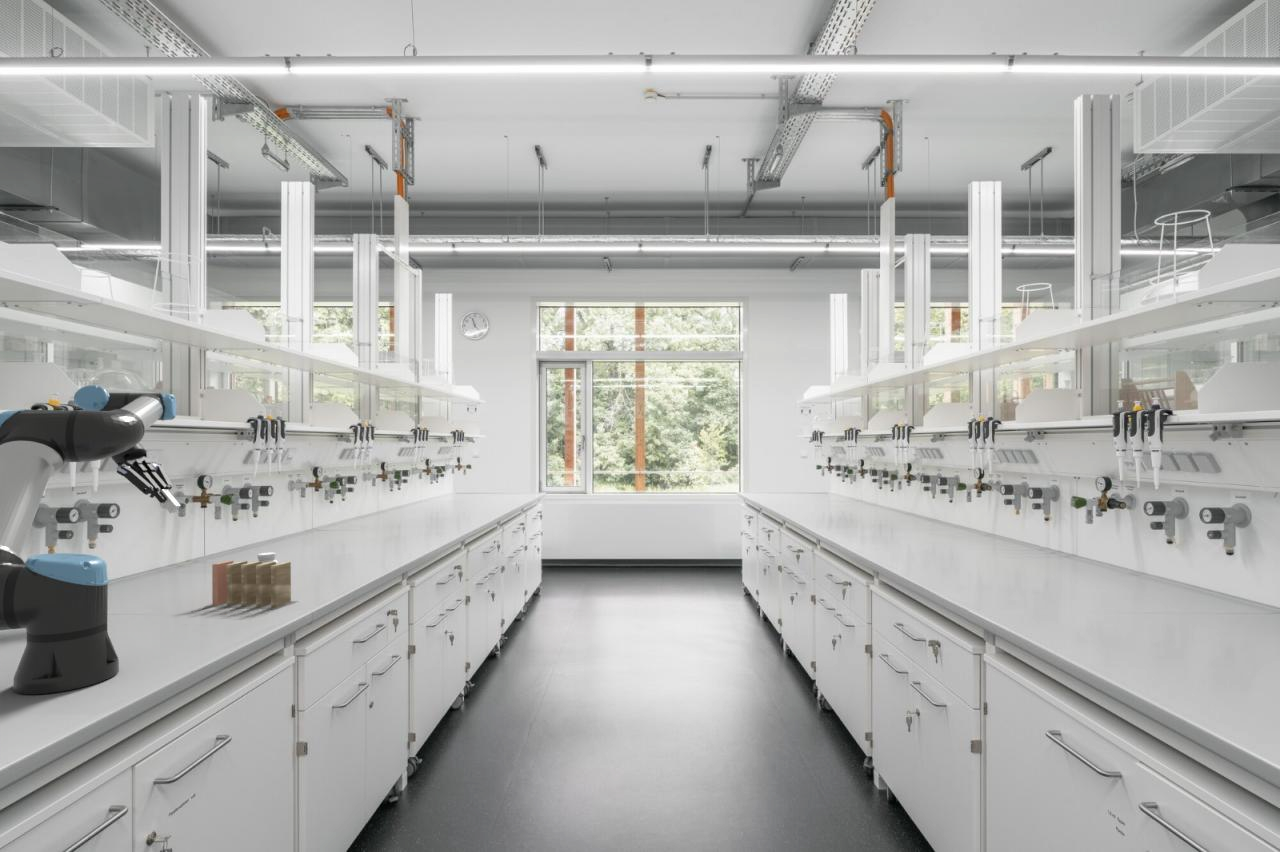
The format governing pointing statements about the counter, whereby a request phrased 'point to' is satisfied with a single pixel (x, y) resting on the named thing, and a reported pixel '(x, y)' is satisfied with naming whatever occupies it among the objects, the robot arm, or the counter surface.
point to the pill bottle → (267, 557)
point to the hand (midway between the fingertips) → (175, 509)
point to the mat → (249, 606)
